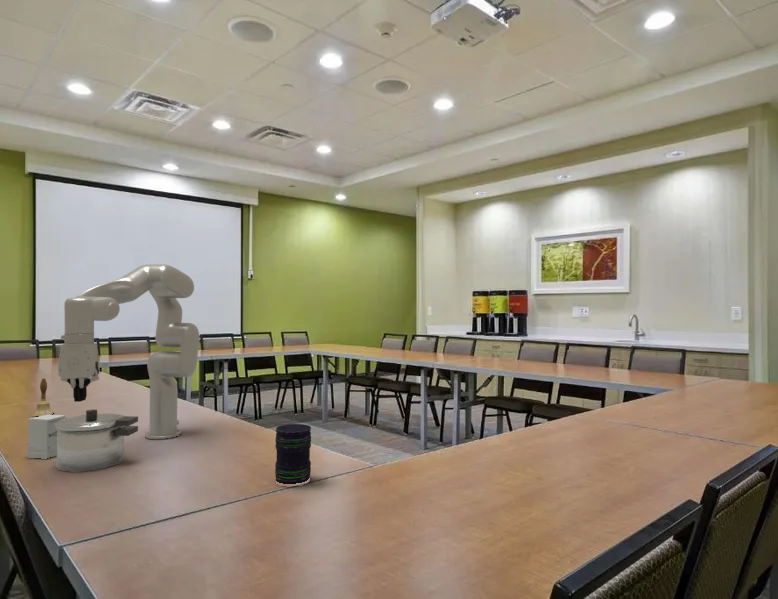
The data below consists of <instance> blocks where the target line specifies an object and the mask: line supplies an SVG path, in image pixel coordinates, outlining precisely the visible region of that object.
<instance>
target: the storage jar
mask: <svg viewBox="0 0 778 599" xmlns="http://www.w3.org/2000/svg"><path fill="white" fill-rule="evenodd" d="M311 430H312V427H311V426H310V425H309V424H303V423H302V424H301V423H288V424H282V425H278V426H277V427H276V428H275V432H276V433H275V445H274V446H275V450H276V461H275V469H274V474H275V480H276V481H277V482H279V483H283V484H296V483H302V482H305V481H307V480H308V479H309V478H310V479H311V472H312V471H311V470H312V468H311V465H312V462H311V459H310V458H311V457H310V456H311V455H310V454H311V452H310V451H311V448H312V447H311V446H312V433H311Z"/></svg>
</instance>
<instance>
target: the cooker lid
mask: <svg viewBox="0 0 778 599" xmlns="http://www.w3.org/2000/svg"><path fill="white" fill-rule="evenodd" d="M138 422H139V416H135V415H134V416H130V415H129V416H125V415H123V414H118V413H98V409H87V410H85V414H83V415H76V416H71V417H65V419H62V420H59V421H57V422H56V423H55V429H57V430H61V431H92V430H100V429H106V428H111V427H115V426H133V425H134V424H136V423H138Z"/></svg>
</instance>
